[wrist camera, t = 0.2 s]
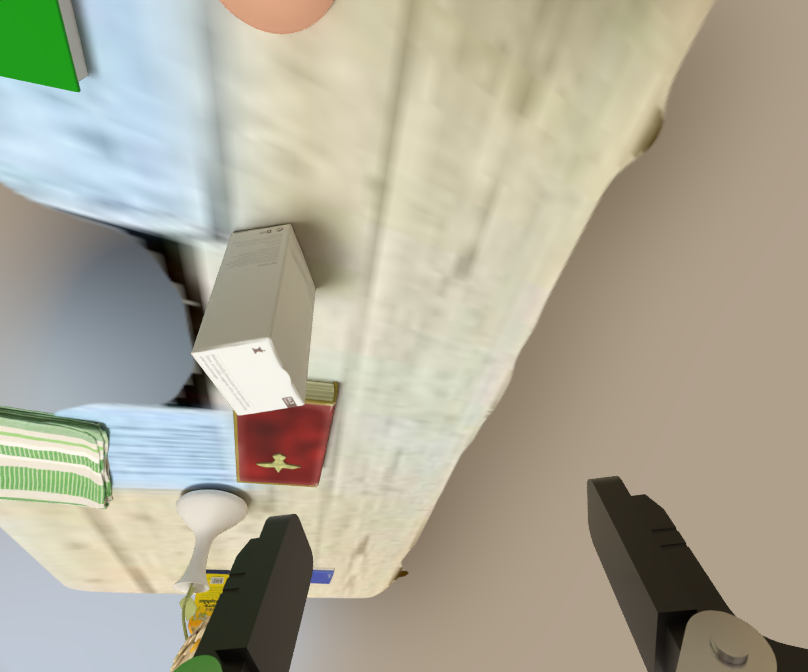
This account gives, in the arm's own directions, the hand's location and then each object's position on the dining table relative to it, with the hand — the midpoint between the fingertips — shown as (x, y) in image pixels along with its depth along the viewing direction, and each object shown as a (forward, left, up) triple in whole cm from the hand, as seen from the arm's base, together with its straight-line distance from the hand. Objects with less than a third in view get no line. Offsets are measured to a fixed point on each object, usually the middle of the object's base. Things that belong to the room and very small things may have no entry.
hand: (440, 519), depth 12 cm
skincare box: (-1, -17, -31) cm, 36 cm away
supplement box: (+26, -102, -31) cm, 110 cm away
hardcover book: (+12, -41, -32) cm, 53 cm away
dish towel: (-13, -67, -32) cm, 76 cm away
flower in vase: (+12, -66, -31) cm, 74 cm away
